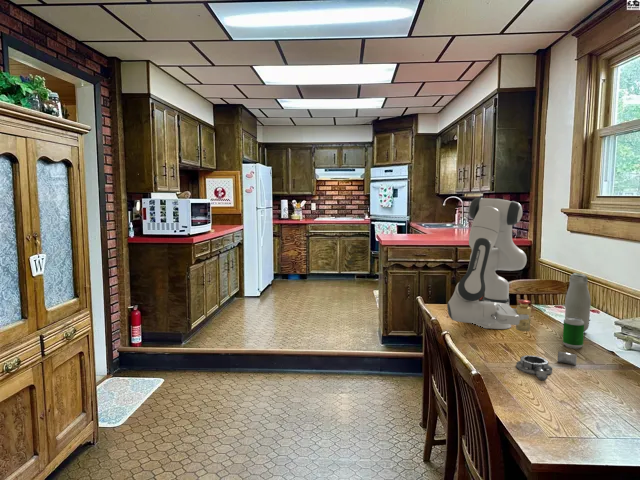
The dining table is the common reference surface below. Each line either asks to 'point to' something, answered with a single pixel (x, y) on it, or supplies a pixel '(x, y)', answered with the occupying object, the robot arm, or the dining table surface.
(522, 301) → the red capped jar
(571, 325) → the soda can
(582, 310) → the grey bottle
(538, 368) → the flange fitting
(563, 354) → the block
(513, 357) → the dining table surface
